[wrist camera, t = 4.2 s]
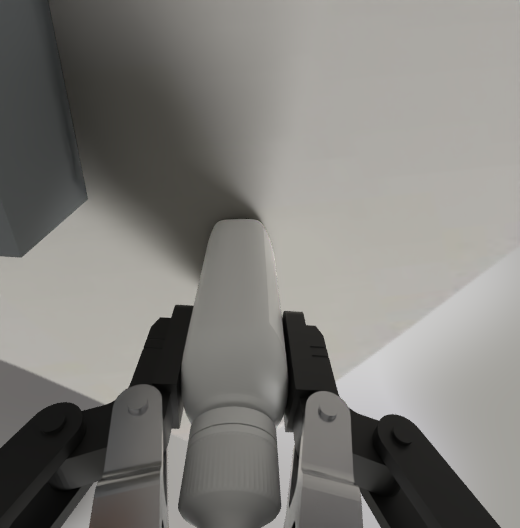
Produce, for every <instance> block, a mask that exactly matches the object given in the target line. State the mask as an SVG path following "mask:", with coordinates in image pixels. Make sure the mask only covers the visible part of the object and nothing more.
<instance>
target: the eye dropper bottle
mask: <svg viewBox="0 0 520 528" xmlns="http://www.w3.org/2000/svg"><path fill="white" fill-rule="evenodd" d="M288 381H289V380H288V368H287V358H286V349H285V341H284V332H283V324H282V315H281V306H280V298H279V290H278V281H277V273H276V264H275V257H274V251H273V247H272V244H271V241H270V238H269V235H268V233H267V231H266V229H265V227H264V225H263V224H262V223H261V222H260V221H258V220H254V219H228V220H222V221H218V222H217V223H216V224H215V226H214V228H213V230H212V232H211V235H210V238H209V242H208V245H207V250H206V254H205V258H204V263H203V267H202V272H201V276H200V280H199V285H198V289H197V294H196V298H195V302H194V307H193V311H192V316H191V320H190V325H189V329H188V334H187V339H186V344H185V348H184V353H183V359H182V366H181V395H182V401H183V405H184V408H185V412H186V414H187V417H188V419H189V421H190V423H191V424H192V425H191V429H190V435H189V441H188V448H187V454H186V460H185V466H184V472H183V479H182V485H181V491H180V498H179V503H178V509H179V512H180V514H181V515H182V517H183V518H184V519H185V520H186V521H187V522H188V523H190V524H192V525H193V526H195V527H197V528H261V527H262V526H265V525H266V524H268V523H270V522H271V521H273V520H274V519H275V518H276V516H277V515H278V513H279V512H280V509H281V496H280V482H279V467H278V453H277V437H276V428H277V427H278V425H279V424H280V422H281V420H282V417H283V415H284V412H285V409H286V405H287V399H288Z"/></svg>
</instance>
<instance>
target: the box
mask: <svg viewBox="0 0 520 528" xmlns="http://www.w3.org/2000/svg"><path fill="white" fill-rule="evenodd" d="M87 199H88V198H87V193H86V188H85V183H84V178H83V173H82V168H81V163H80V158H79V153H78V148H77V143H76V138H75V133H74V128H73V123H72V118H71V113H70V108H69V103H68V98H67V94H66V89H65V84H64V79H63V74H62V69H61V64H60V59H59V54H58V49H57V44H56V39H55V34H54V29H53V24H52V19H51V14H50V9H49V4H48V0H0V256H7V257H23V256H24V255H25V254H26V253H27V252H28V251H29V250H30V249H32V248H33V247H34V246H35V245H36V244H37V243H38V242H40V241H41V240H42V239H43V238H44V237H45V236H46V235H48V234H49V233H50V232H51V231H52V230H53V229H54V228H56V227H57V226H58V225H59V224H60V223H61V222H62V221H64V220H65V219H66V218H67V217H68V216H69V215H70V214H72V213H73V212H74V211H75V210H76V209H77V208H78V207H79V206H81V205H82V204H83V203H84V202H85V201H86V200H87Z"/></svg>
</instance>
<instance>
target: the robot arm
mask: <svg viewBox="0 0 520 528" xmlns="http://www.w3.org/2000/svg"><path fill="white" fill-rule="evenodd" d="M193 307H194V306H189V305H175V307H174V310H173V314H172V317H171V318H161V317H160V318H159V319H158V320H157V321H156V322H155V323H154V324H153V325H152V327H151V329H150V331H149V334H148V337H147V340H146V342H145V345H144V349H143V351H142V353H141V356H140V359H139V362H138V364H137V367H136V370H135V373H134V375H133V378H132V381H131V383H130V386H129V387H128V389H126V390H125V391H123V392H122V393H121V394H120V395H119V396H118V397H117V399H116V400H115V401H113V402H111V403H109V404H107V405H103V406H100V407H96V408H92V409H88V410H84V411H81V410H80V408H79V407H78V406H76V405H75V404H72V403H67V402H63V403H57V404H53V405H51V406H48V407H46V408H45V409H43V410H41V411H40V412H38V413H37V414H36V415H35V416H34V417H33V418H32V419H31V420H30V421H29V422H28V423H27V424H26V425H25V426H23V427H22V428H21V429H20V430H19V431H18V432H17V433H16V434H15V435H14V436H13V437H12V438H11V439H10V440H9V441H8V442H7V443H6V444H4V445H3V446H2V447H1V448H0V528H61V526H62V525H63V524H64V522H65V521H66V519H67V518H68V517H69V515H70V514H71V513H72V511H73V510H74V508H75V507H76V506H77V505H78V503H79V502H80V500H81V499H82V498H83V496H84V495H85V494H86V492H87V491H88V490H89V488H90V487H91V486H92V484H93V483H94V482H96V481H98V483H97V486H96V489H95V494H94V500H93V506H92V513H91V519H90V526H89V528H169V520H168V449H167V446H168V443H169V438H170V433H171V428H174V429H179V428H180V423H181V418H182V412H183V407H184V405H183V401H182V395H181V366H182V359H183V353H184V348H185V344H186V339H187V334H188V329H189V325H190V320H191V316H192V311H193ZM282 324H283V332H284V341H285V349H286V358H287V368H288V380H289V381H288V399H287V405H286V409H285V412H284V422H285V432H294V441H295V445H294V449H293V455H292V465H291V474H290V483H289V493H288V503H287V511H286V518H285V523H284V528H363V519H362V505H361V504H362V503H361V494H362V496H363V497H364V499H365V501H366V503H367V504H368V506H369V507H370V509H371V511H372V513H373V515H374V516H375V518H376V520H377V521H378V523H379V525H380V527H381V528H501V527H500V526H499V525H498V524H497V523H496V521H495V520H494V519H493V518H492V516H491V515H490V514H489V513H488V512H487V510H486V509H485V508H484V507H483V506H482V505H481V503H480V502H479V501H478V500H477V498H476V497H475V496H474V495H473V494H472V492H471V491H470V490H469V489H468V488H467V486H466V485H465V484H464V483H463V481H462V480H461V479H460V478H459V477H458V475H457V474H456V473H455V472H454V471H453V470H452V468H451V467H450V466H449V465H448V463H447V462H446V461H445V460H444V459H443V457H442V456H441V455H440V454H439V453H438V451H437V450H436V449H435V448H434V447H433V445H432V444H431V443H430V442H429V440H428V439H427V438H426V437H425V436H424V434H423V433H422V432H421V431H420V430H419V429H418V427H417V426H416V425H415V424H414V423H412V422H411V421H410V420H408V419H406V418H404V417H402V416H399V415H393V414H392V415H386V416H384V417H382V418H381V419H380V421H378V420H375V419H372V418H369V417H366V416H363V415H360V414H358V413H356V412H354V411H353V410H351V409H350V408H348V406H347V404H346V403H345V402H344V401H343V400H342V399H341V398H340V397H339V394H338V391H337V387H336V384H335V380H334V376H333V372H332V368H331V364H330V360H329V358H328V353H327V349H326V345H325V341H324V337H323V335H322V334H321V332H320V331H319V330H318V329H317V327H316V326H308V325H306V324H305V319H304V314H303V312H293V311H284V312H283V317H282ZM360 492H361V494H360Z"/></svg>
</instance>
